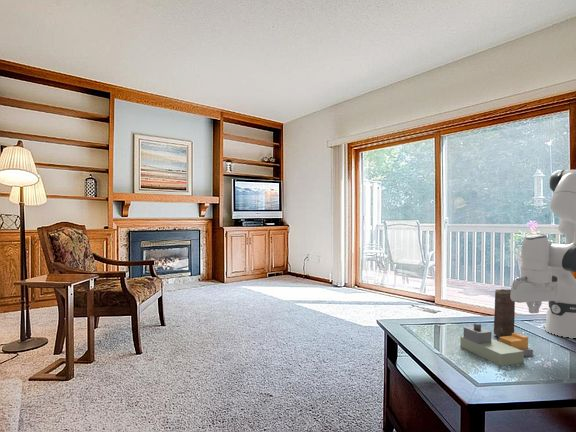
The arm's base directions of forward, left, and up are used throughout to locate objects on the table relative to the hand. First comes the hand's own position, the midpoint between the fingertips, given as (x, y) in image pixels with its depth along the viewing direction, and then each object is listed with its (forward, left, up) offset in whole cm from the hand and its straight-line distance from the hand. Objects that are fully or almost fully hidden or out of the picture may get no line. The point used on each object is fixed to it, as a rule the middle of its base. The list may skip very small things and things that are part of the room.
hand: (533, 312), depth 133 cm
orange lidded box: (+9, 0, -14) cm, 17 cm away
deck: (+16, 0, -14) cm, 21 cm away
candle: (0, -13, -14) cm, 19 cm away
